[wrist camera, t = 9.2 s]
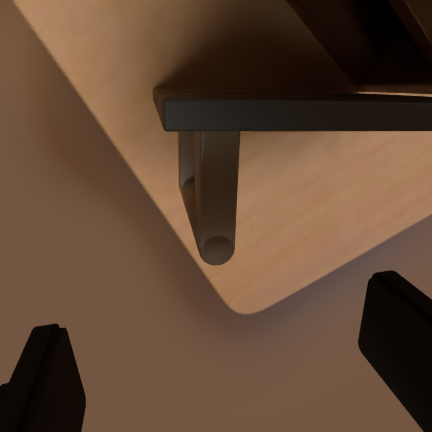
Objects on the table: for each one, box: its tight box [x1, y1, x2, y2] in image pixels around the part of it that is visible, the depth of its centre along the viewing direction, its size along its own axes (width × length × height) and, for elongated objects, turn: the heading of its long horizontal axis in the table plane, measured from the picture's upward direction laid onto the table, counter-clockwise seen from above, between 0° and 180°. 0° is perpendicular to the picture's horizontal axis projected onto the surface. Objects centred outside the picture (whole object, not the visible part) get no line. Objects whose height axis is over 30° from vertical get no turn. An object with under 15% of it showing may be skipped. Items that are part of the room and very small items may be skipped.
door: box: [153, 89, 432, 265], centre depth 18 cm, size 6×15×16 cm, turn 89°
